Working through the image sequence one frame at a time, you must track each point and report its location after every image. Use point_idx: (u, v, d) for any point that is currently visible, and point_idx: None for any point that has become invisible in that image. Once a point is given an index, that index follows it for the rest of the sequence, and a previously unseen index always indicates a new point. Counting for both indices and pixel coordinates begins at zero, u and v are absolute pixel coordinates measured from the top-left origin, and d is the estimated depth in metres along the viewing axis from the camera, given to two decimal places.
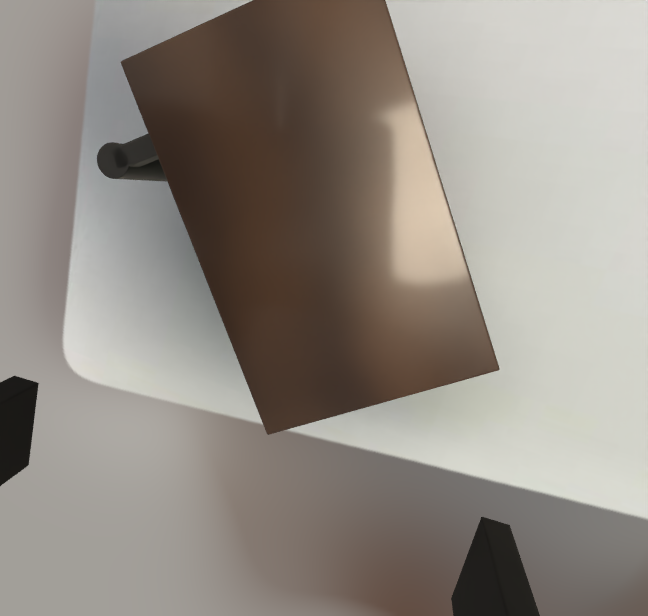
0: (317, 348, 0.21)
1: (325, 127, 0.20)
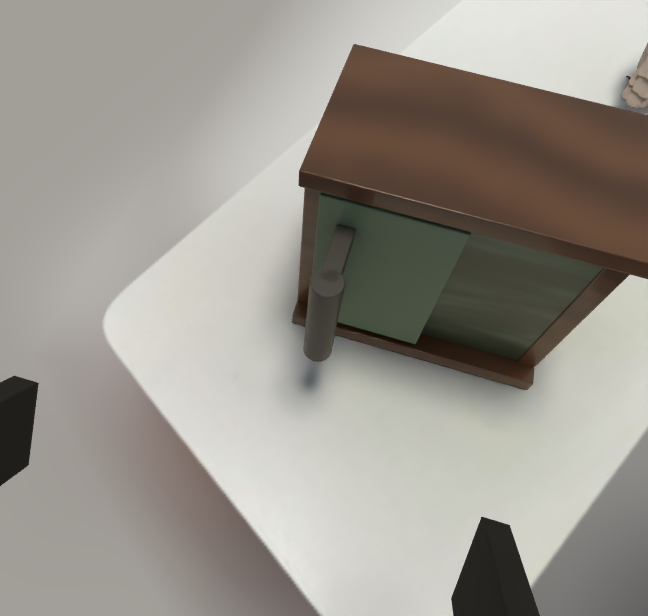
0: (592, 191, 0.24)
1: (434, 105, 0.26)
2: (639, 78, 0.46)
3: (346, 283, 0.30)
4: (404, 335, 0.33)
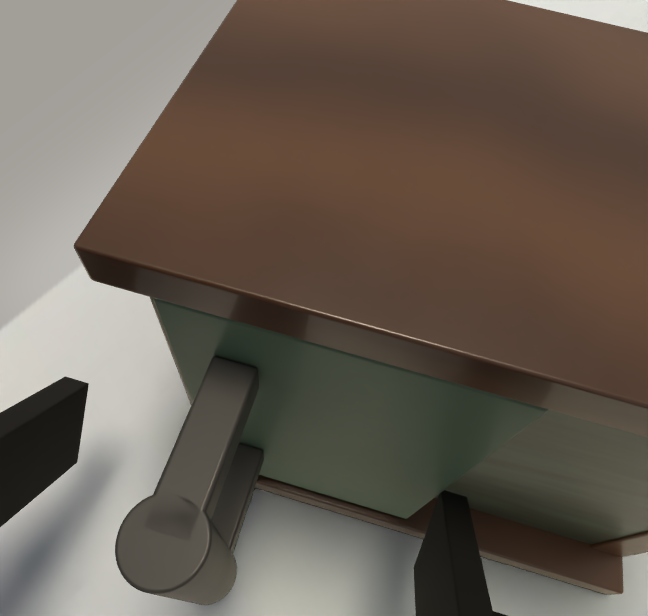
0: None
1: (449, 71, 0.11)
2: None
3: (266, 439, 0.15)
4: (386, 508, 0.18)
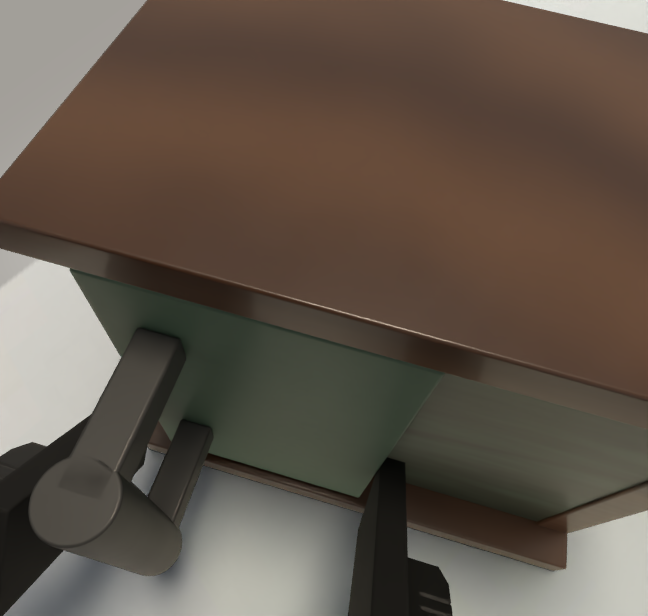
0: None
1: (362, 51, 0.12)
2: None
3: (210, 416, 0.15)
4: (337, 487, 0.18)
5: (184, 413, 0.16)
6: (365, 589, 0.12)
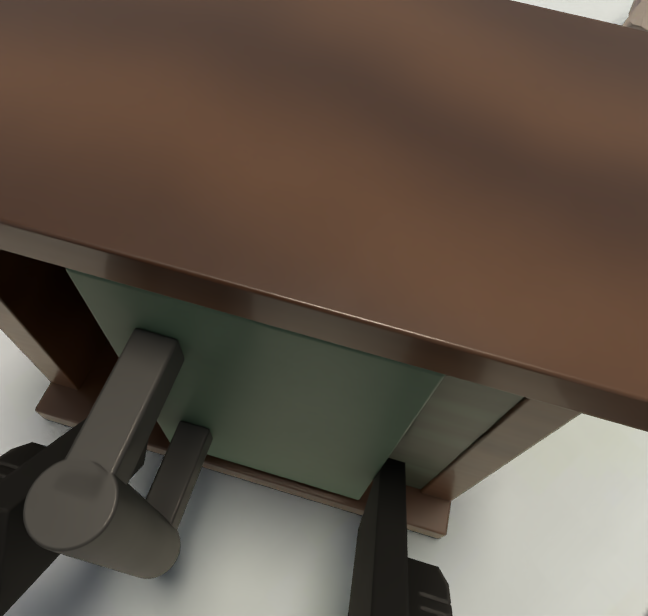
0: (511, 195, 0.10)
1: (172, 4, 0.12)
2: None
3: (208, 417, 0.15)
4: (336, 489, 0.18)
5: (183, 415, 0.16)
6: (365, 589, 0.12)
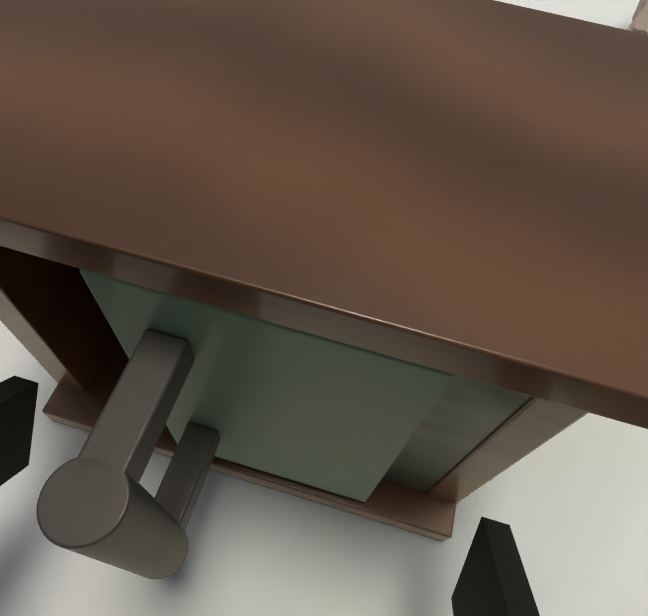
0: (517, 196, 0.10)
1: (182, 9, 0.12)
2: None
3: (216, 418, 0.15)
4: (343, 491, 0.18)
5: (191, 416, 0.16)
6: None
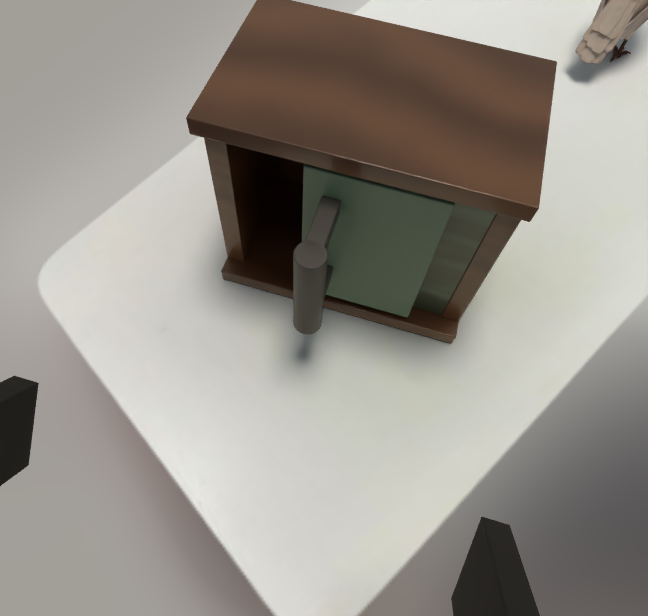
0: (480, 135, 0.24)
1: (333, 53, 0.26)
2: (593, 33, 0.45)
3: (335, 256, 0.30)
4: (395, 309, 0.33)
5: None
6: None
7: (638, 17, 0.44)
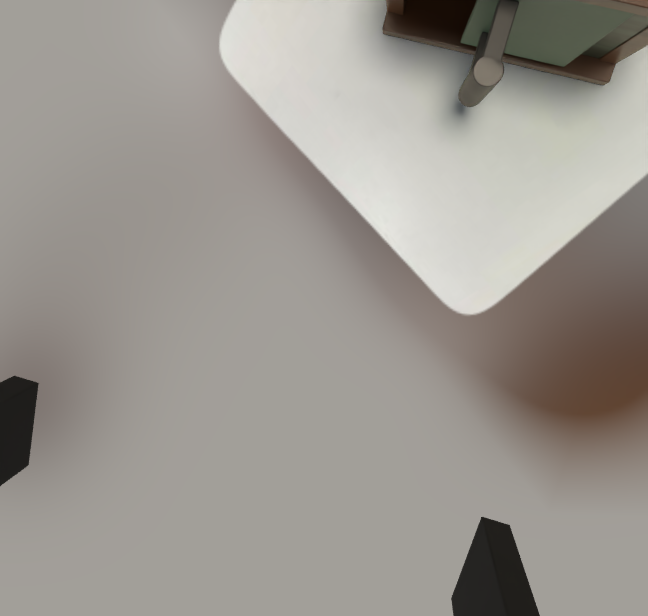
0: None
1: None
2: None
3: None
4: (553, 61, 0.35)
5: (487, 29, 0.32)
6: None
7: None
